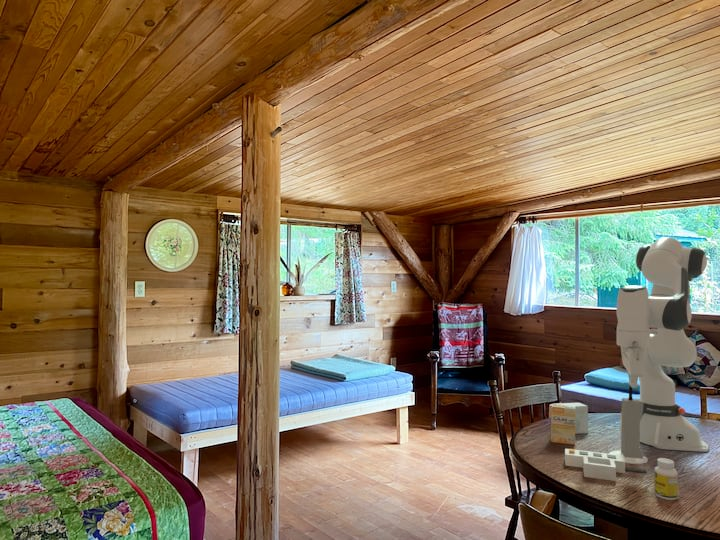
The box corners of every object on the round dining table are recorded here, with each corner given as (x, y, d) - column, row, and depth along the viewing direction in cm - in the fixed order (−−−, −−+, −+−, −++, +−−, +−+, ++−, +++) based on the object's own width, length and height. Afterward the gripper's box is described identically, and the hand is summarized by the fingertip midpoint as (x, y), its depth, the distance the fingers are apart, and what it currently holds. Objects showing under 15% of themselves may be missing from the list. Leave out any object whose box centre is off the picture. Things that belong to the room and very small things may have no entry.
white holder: (651, 466, 161) (651, 419, 161) (611, 462, 165) (611, 415, 165) (644, 454, 172) (644, 409, 172) (607, 450, 176) (607, 406, 176)
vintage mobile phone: (643, 459, 149) (644, 373, 149) (624, 457, 150) (625, 372, 150) (639, 454, 153) (640, 371, 153) (621, 453, 154) (622, 370, 154)
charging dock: (644, 469, 159) (644, 455, 159) (651, 486, 146) (651, 471, 146) (565, 459, 167) (565, 446, 167) (565, 474, 154) (565, 460, 154)
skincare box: (579, 428, 201) (579, 401, 201) (588, 433, 195) (588, 406, 195) (554, 429, 200) (554, 402, 200) (563, 434, 193) (563, 406, 193)
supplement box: (550, 442, 184) (550, 406, 184) (551, 438, 188) (551, 403, 188) (575, 445, 180) (575, 408, 181) (575, 441, 185) (575, 405, 185)
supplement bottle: (650, 492, 142) (650, 457, 142) (668, 491, 142) (668, 456, 142) (663, 501, 136) (663, 464, 136) (682, 500, 137) (682, 463, 137)
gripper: (650, 345, 141) (650, 395, 141) (640, 336, 160) (640, 380, 160) (625, 343, 143) (625, 393, 143) (617, 335, 162) (617, 379, 162)
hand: (633, 386), depth 151 cm, fingers closed on vintage mobile phone
